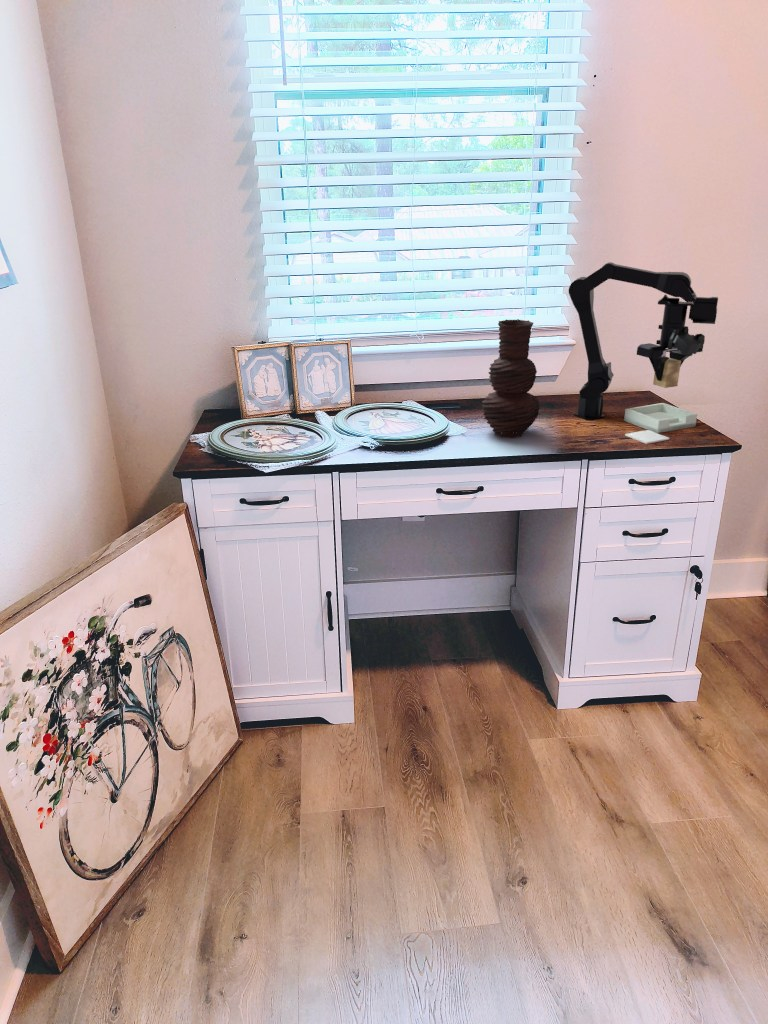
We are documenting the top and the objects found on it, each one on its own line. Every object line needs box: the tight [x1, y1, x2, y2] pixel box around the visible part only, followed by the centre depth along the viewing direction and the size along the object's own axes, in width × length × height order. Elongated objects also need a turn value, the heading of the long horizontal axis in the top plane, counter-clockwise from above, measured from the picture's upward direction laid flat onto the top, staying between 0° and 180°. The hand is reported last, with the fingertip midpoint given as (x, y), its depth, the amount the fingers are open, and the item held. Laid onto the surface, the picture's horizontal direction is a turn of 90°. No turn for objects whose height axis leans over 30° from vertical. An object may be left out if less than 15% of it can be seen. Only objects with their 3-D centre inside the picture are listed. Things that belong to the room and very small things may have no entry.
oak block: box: [652, 357, 682, 389], centre depth 208 cm, size 4×4×7 cm
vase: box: [481, 319, 541, 439], centre depth 201 cm, size 15×15×30 cm
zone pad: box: [624, 429, 670, 445], centre depth 202 cm, size 8×8×1 cm
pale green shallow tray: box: [623, 402, 698, 434], centre depth 213 cm, size 14×13×4 cm
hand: (665, 379), depth 209 cm, fingers closed on oak block, 4 cm apart
